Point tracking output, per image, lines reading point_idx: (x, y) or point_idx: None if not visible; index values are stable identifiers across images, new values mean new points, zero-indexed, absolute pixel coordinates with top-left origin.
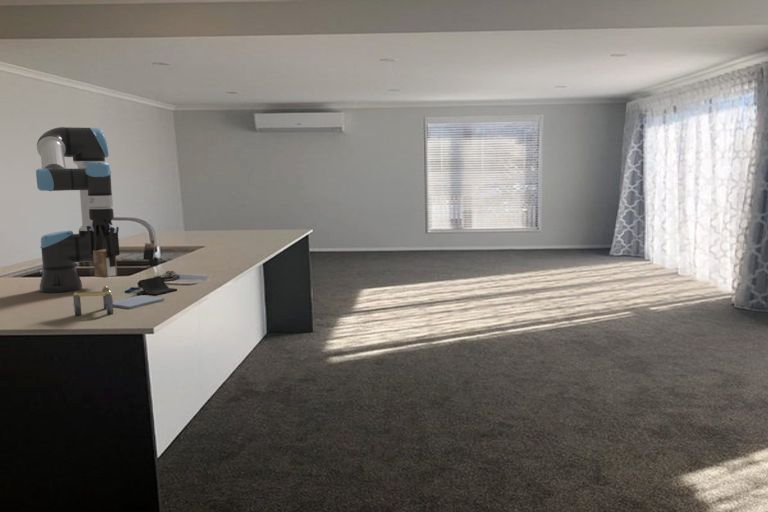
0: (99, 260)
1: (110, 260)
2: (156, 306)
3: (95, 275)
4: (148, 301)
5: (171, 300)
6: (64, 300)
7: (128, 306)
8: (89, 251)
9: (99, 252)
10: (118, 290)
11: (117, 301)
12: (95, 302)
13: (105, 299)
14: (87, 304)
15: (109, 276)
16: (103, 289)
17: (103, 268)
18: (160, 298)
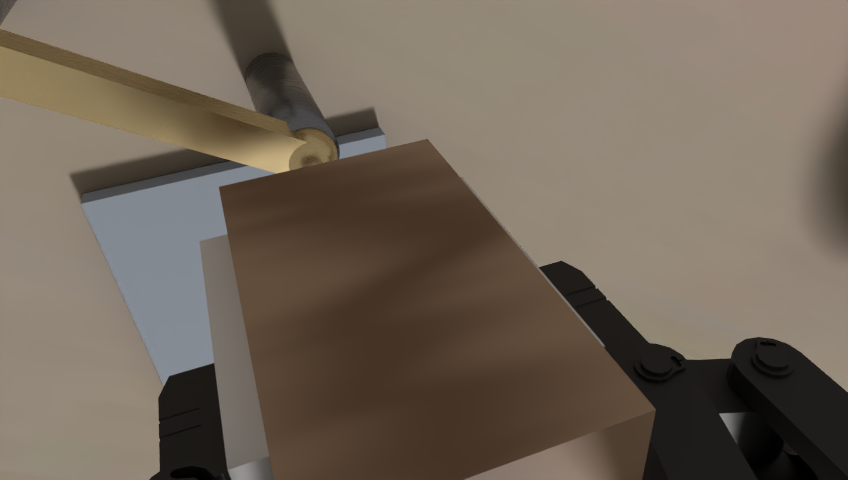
0: (375, 324)
1: (199, 458)
2: (13, 357)
3: (423, 149)
4: (171, 359)
5: (152, 469)
6: (796, 12)
7: (100, 198)
8: (811, 365)
9: (414, 469)
10: (687, 339)
11: None
12: (550, 121)
13: (265, 92)
14: (547, 50)
15: (200, 249)
16: (294, 125)
17: (247, 261)
18: None
